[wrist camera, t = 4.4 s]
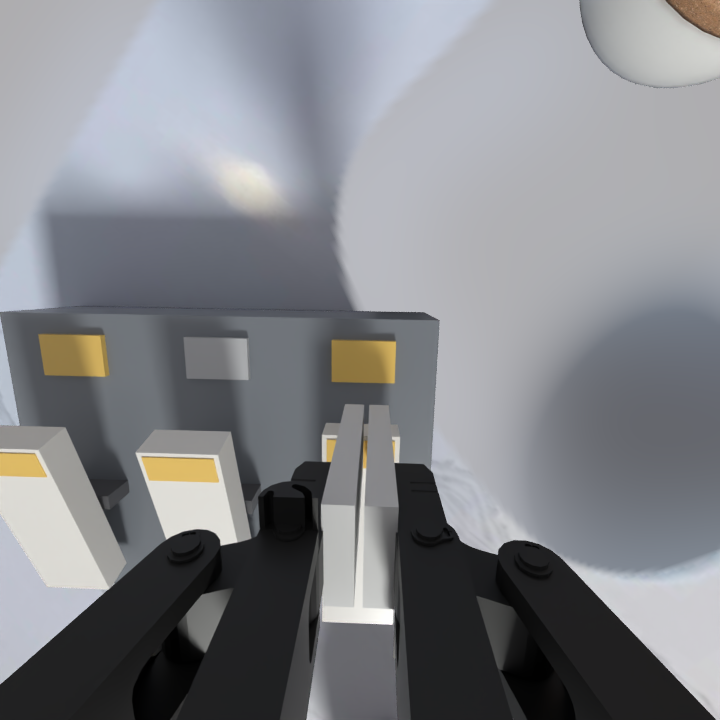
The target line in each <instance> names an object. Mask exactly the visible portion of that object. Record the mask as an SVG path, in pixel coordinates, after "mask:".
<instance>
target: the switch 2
mask: <svg viewBox="0 0 720 720" xmlns="http://www.w3.org/2000/svg"><path fill="white" fill-rule="evenodd" d="M135 453H136V456H137V459H138V461H139V464H140V467H141V470H142V473H143V475H144V478H145V481H146V484H147V487H148V490H149V492H150V495H151V498H152V501H153V504H154V506H155V509H156V512H157V515H158V518H159V520H160V523H161V526H162V529H163V532H164V534H165V537H166V540H167V539H168V538H170V537H171V536H174V535H176V534H179V533H181V532H184V531H189V530H194V529H203V530H209V531H211V532H214V533H216V534H217V536H218V537H219V539H220V544H221V545H226V544H231V543H237V542H241V541H245V540H249V539H251V534H250V529H249V523H248V518H247V513H246V508H245V503H244V498H243V492H242V487H241V482H240V477H239V472H238V467H237V462H236V456H235V451H234V446H233V441H232V436H231V432H226V431H189V430H154V431H153V432H152V433H151V434H150V436H149V437H148V438H147V439H146V440H145V442H144V443H143V444H142V445H141V446H140V448H139V449H138V450H137V451H136V452H135Z"/></svg>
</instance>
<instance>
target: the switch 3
mask: <svg viewBox="0 0 720 720" xmlns="http://www.w3.org/2000/svg"><path fill="white" fill-rule="evenodd" d="M339 427H340V423H326V424H325V427H324V430H323V433H322V462H331V460H332V456H333V452H334V448H335V444H336V440H337V435H338V431H339ZM391 434H392V444H393V454H394V463H399V452H400V434H399V429H398V425H391ZM367 443H368V424H364V446H363V477H362V492H361V507H360V522H359V537H358V552H357V567H356V582H355V597H354V607H334V606H322V622H339V623H363V624H388V625H393V609H376V608H363V554H364V503H365V483H366V463H367Z"/></svg>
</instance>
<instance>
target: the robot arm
mask: <svg viewBox="0 0 720 720" xmlns="http://www.w3.org/2000/svg"><path fill="white" fill-rule="evenodd" d="M363 446H364V405H360V404H345V406H344V411H343V415H342V419H341V423H340V427H339V431H338V435H337V440H336V444H335V448H334V452H333V456H332V460H331V462H316V461H305V462H303V463H302V464H301V465H300V466H298V467H297V468H296V469H295V470H294V473H293V475H292V478H291V481H286V482H280V483H277V484H274V485H271V486H269V487H268V488H266V489H264V490H263V491H262V492H261V493H260V495H259V496H258V508H259V527H260V530H259V532H258V534H257V536H256V537H253V538H251V539H249V540H245V541H241V542H237V543H231V544H226V545H221V544H220V539H219V537H218V536H217V534H216V533H214V532H211V531H209V530H203V529H194V530H189V531H184V532H181V533H179V534H176V535H174V536H171V537H170V538H168V539H167V540H165V541H164V542H162V543H161V544H160V545H159V546H157V547H156V548H155V549H154V550H153V551H152V552H151V553H149V554H148V555H147V556H146V557H145V558H144V559H143V560H141V561H140V562H139V563H138V564H137V565H136V566H135V567H134V568H132V569H131V570H130V571H129V572H128V573H127V574H126V575H124V576H123V577H122V578H121V579H120V580H119V581H118V582H116V583H115V584H114V585H113V586H112V587H111V588H110V589H109V590H107V591H106V592H105V593H104V594H103V595H102V596H101V597H99V598H98V599H97V600H96V601H95V602H94V603H93V604H91V605H90V606H89V607H88V608H87V609H86V610H85V611H84V612H82V613H81V614H80V615H79V616H78V617H77V618H76V619H74V620H73V621H72V622H71V623H70V624H69V625H68V626H66V627H65V628H64V629H63V630H62V631H61V632H60V633H59V634H57V635H56V636H55V637H54V638H53V639H52V640H51V641H49V642H48V643H47V644H46V645H45V646H44V647H43V648H41V649H40V650H39V651H38V652H37V653H36V654H35V655H34V656H32V657H31V658H30V659H29V660H28V661H27V662H26V663H24V664H23V665H22V666H21V667H20V668H19V669H18V670H16V671H15V672H14V673H13V674H12V675H11V676H10V677H9V678H7V679H6V680H5V681H4V682H3V683H2V684H1V685H0V720H306V718H307V711H308V704H309V697H310V690H311V683H312V677H313V670H314V663H315V656H316V649H317V642H318V635H319V628H320V616H319V608H320V602H321V596H322V606H334V607H354V597H355V582H356V567H357V552H358V537H359V522H360V507H361V492H362V477H363ZM363 608H376V609H395V625H394V649H393V658H395V663H396V690H397V717H398V720H716V719H715V718H714V717H713V716H712V715H711V714H710V713H709V712H708V711H707V710H706V709H705V708H704V707H703V706H702V705H701V704H700V703H699V702H698V700H697V699H696V698H695V697H694V696H693V695H692V694H691V693H690V692H689V691H688V690H687V689H686V688H685V687H684V686H683V685H682V684H681V683H680V682H679V681H678V680H677V679H676V677H675V676H674V675H673V674H672V673H671V672H670V671H669V670H668V669H667V668H666V667H665V666H664V665H663V664H662V663H661V662H660V661H659V660H658V659H657V658H656V657H655V656H654V655H653V653H652V652H651V651H650V650H649V649H648V648H647V647H646V646H645V645H644V644H643V643H642V642H641V641H640V640H639V639H638V638H637V637H636V636H635V635H634V634H633V633H632V632H631V631H630V629H629V628H628V627H627V626H626V625H625V624H624V623H623V622H622V621H621V620H620V619H619V618H618V617H617V616H616V615H615V614H614V613H613V612H612V611H611V610H610V609H609V608H608V607H607V605H606V604H605V603H604V602H603V601H602V600H601V599H600V598H599V597H598V596H597V595H596V594H595V593H594V592H593V591H592V590H591V589H590V588H589V587H588V586H587V585H586V584H585V583H584V581H583V580H582V579H581V578H580V577H579V576H578V575H577V574H576V573H575V572H574V571H573V570H572V569H571V568H570V567H569V566H568V565H567V564H566V563H565V562H564V561H563V560H562V559H561V558H560V557H559V556H558V555H556V554H555V553H554V552H553V551H551V550H549V549H547V548H545V547H543V546H541V545H539V544H536V543H533V542H529V541H518V540H513V541H510V542H507V543H504V544H503V545H502V546H501V547H500V549H499V551H498V555H496V554H492V553H488V552H485V551H481V550H478V549H475V548H472V547H470V546H468V545H466V544H464V543H463V542H461V541H460V539H459V536H458V535H457V533H456V531H455V530H454V528H452V527H451V526H450V525H449V524H447V521H446V518H445V514H444V511H443V507H442V504H441V500H440V497H439V493H438V490H437V487H436V485H435V480H434V476H433V473H432V472H431V471H430V470H429V469H428V468H427V467H426V466H425V465H424V464H413V463H394V454H393V444H392V434H391V424H390V414H389V405H369V423H368V443H367V463H366V483H365V503H364V554H363Z"/></svg>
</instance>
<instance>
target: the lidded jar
mask: <svg viewBox="0 0 720 720" xmlns="http://www.w3.org/2000/svg"><path fill="white" fill-rule="evenodd" d="M580 11H581V17H582V23H583V27H584V30H585V33H586V36H587V39H588V41H589V43H590V45H591V47H592V48H593V50H594V52H595V54H596V55H597V56H598V58H599V59H600V60H601V61H602V63H603V64H604V65H606V66H607V67H608V68H609V69H610V70H611V71H612V72H613V73H615V74H617V75H618V76H620V77H621V78H623V79H625V80H628V81H630V82H633V83H635V84H640V85H644V86H649V87H654V88H678V87H686V86H692V85H699V84H703V83H706V82H709V81H712V80H716V79H719V78H720V0H580Z"/></svg>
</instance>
